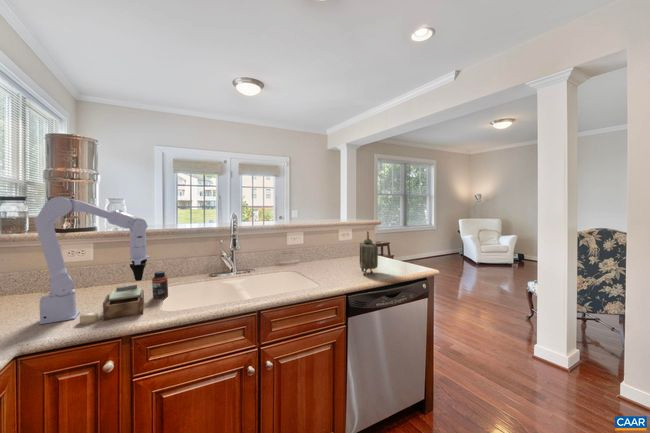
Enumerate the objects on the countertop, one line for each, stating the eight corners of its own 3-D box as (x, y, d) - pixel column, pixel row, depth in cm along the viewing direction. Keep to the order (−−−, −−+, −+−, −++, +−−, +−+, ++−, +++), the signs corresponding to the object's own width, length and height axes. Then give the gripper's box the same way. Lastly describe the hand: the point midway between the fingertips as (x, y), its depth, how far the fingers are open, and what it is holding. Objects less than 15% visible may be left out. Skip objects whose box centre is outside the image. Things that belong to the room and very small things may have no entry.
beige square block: (78, 325, 99) (78, 318, 99) (81, 320, 103) (81, 313, 103) (96, 322, 102) (96, 315, 101) (99, 317, 106) (98, 310, 106)
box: (103, 320, 103) (102, 303, 103) (107, 310, 113) (107, 294, 112) (143, 313, 109) (142, 297, 109) (144, 304, 119) (143, 289, 118)
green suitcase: (359, 270, 177) (359, 229, 176) (374, 270, 177) (374, 230, 176) (361, 276, 163) (361, 232, 162) (377, 276, 163) (378, 232, 161)
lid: (108, 300, 109) (108, 295, 109) (112, 292, 118) (112, 287, 118) (140, 296, 114) (139, 291, 114) (141, 289, 123) (141, 284, 123)
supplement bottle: (164, 294, 133) (164, 269, 132) (170, 296, 129) (169, 271, 128) (150, 297, 128) (149, 272, 127) (155, 300, 124) (155, 274, 124)
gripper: (148, 248, 117) (149, 281, 118) (149, 243, 130) (150, 273, 130) (127, 249, 114) (128, 283, 114) (131, 244, 126) (132, 275, 127)
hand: (139, 278), depth 122 cm, fingers open, 7 cm apart
